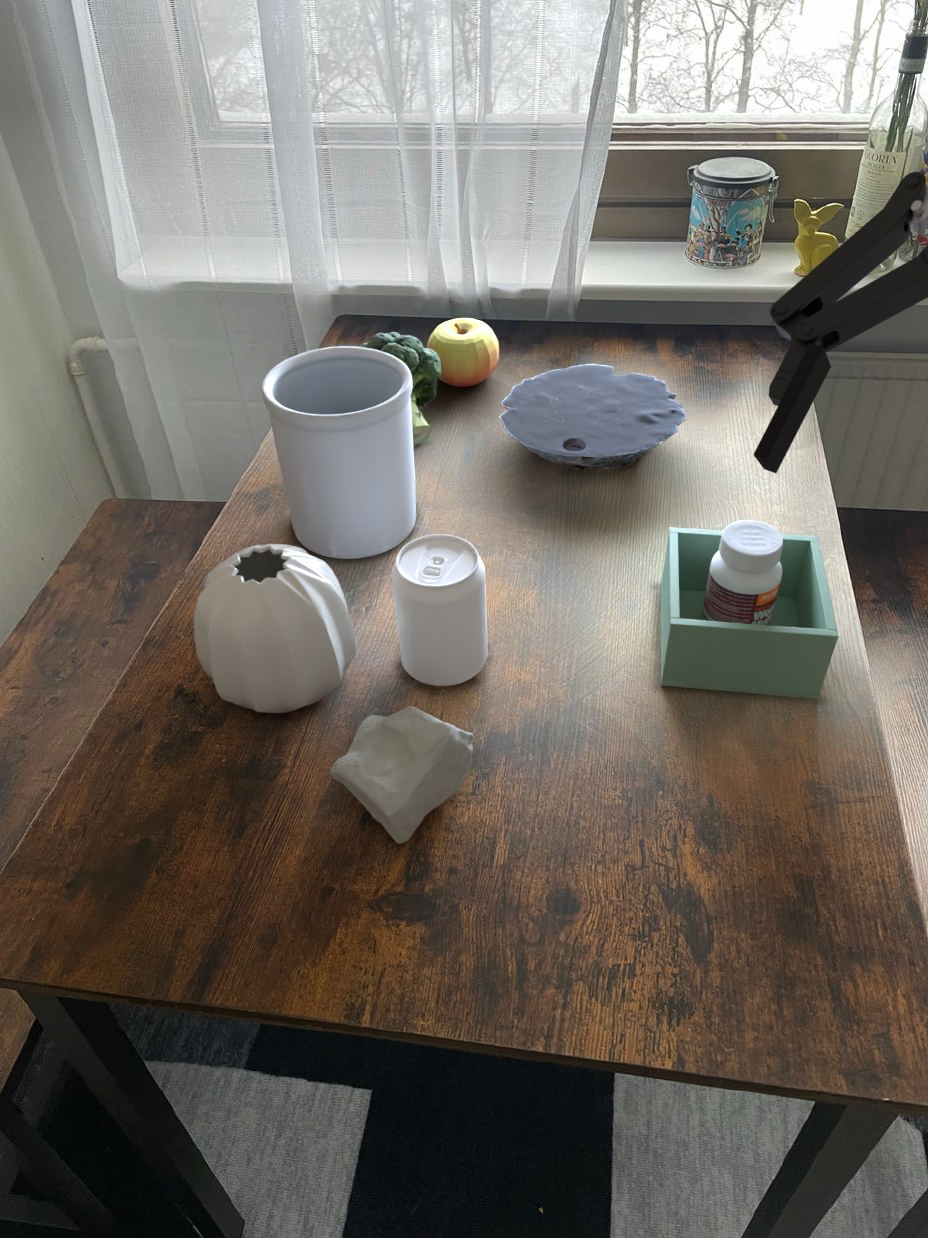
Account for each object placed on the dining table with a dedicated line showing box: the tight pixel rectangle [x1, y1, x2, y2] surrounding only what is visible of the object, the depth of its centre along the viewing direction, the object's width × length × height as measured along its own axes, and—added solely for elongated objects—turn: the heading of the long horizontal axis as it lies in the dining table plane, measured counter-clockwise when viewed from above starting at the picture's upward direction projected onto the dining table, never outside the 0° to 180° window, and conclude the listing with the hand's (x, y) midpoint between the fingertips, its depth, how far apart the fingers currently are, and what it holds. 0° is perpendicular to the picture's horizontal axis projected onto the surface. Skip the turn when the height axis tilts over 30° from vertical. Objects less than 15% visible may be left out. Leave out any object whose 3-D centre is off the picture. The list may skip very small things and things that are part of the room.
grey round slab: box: [498, 363, 687, 471], centre depth 111 cm, size 22×22×5 cm
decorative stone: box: [329, 705, 475, 845], centre depth 73 cm, size 11×9×10 cm
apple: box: [426, 317, 500, 388], centre depth 124 cm, size 10×10×8 cm
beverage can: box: [390, 533, 489, 687], centre depth 82 cm, size 8×8×12 cm
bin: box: [660, 526, 839, 700], centre depth 84 cm, size 14×14×8 cm
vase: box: [193, 542, 358, 714], centre depth 81 cm, size 14×14×13 cm
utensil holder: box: [261, 345, 417, 560], centre depth 97 cm, size 15×15×18 cm
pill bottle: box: [701, 519, 783, 625], centre depth 83 cm, size 6×6×11 cm
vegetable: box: [358, 331, 441, 447], centre depth 115 cm, size 12×13×15 cm
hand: (886, 509), depth 47 cm, fingers open, 13 cm apart
